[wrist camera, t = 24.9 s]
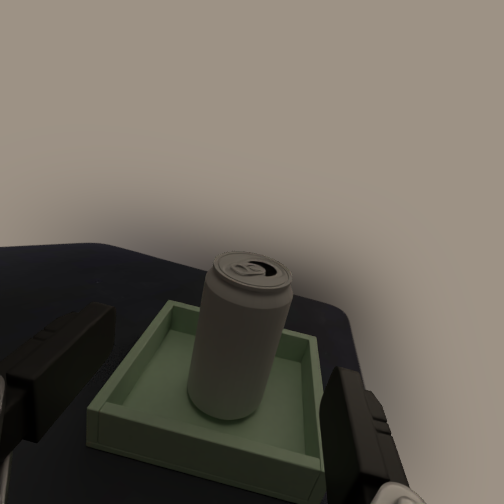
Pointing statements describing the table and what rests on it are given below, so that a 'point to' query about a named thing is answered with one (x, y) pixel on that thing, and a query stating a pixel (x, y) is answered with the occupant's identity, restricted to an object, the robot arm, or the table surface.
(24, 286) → the table surface
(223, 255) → the beverage can
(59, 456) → the table surface
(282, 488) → the tray
